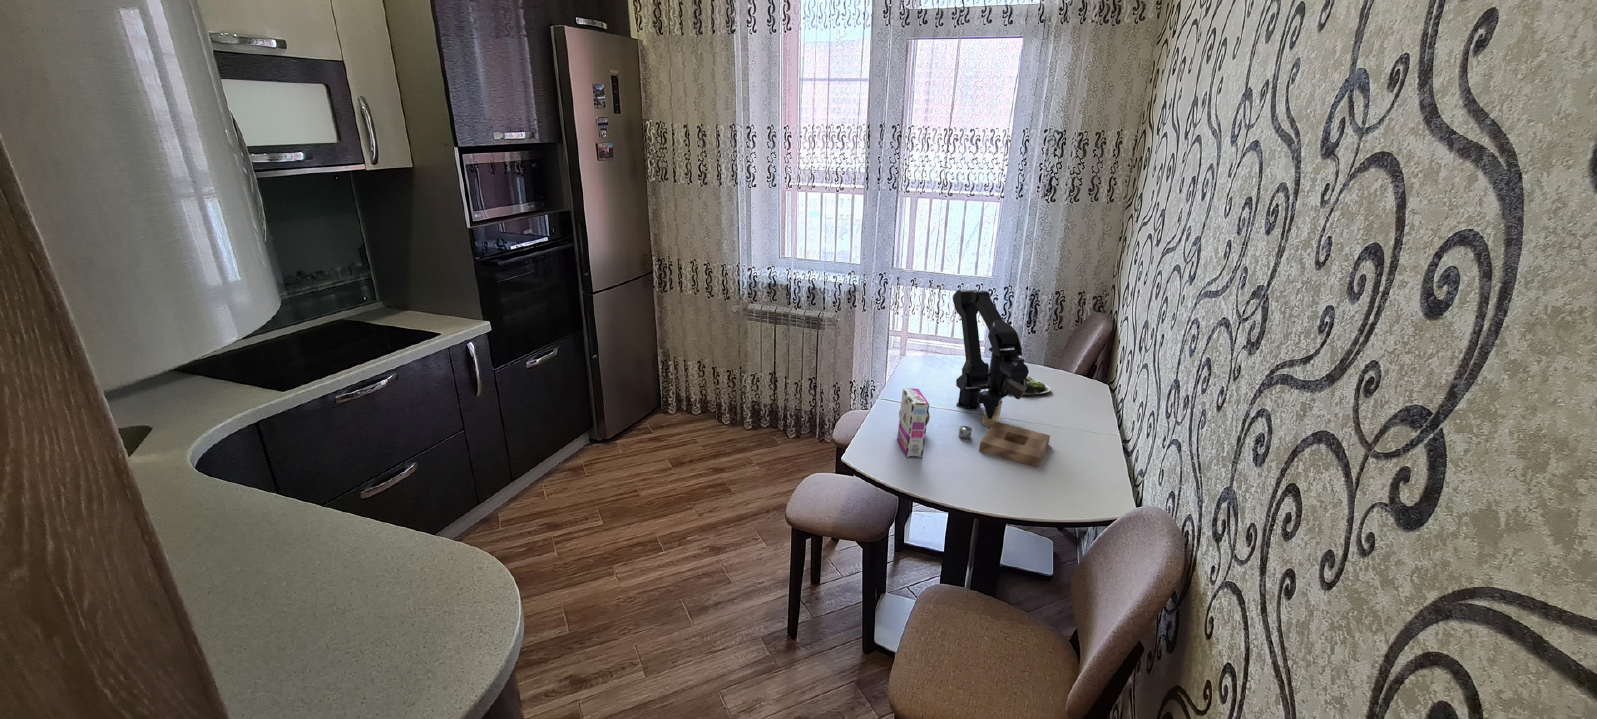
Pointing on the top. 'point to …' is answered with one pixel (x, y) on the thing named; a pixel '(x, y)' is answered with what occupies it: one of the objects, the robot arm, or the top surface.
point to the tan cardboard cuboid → (995, 417)
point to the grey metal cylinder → (965, 432)
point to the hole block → (1015, 443)
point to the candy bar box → (913, 422)
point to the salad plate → (1035, 388)
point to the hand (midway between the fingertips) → (991, 416)
